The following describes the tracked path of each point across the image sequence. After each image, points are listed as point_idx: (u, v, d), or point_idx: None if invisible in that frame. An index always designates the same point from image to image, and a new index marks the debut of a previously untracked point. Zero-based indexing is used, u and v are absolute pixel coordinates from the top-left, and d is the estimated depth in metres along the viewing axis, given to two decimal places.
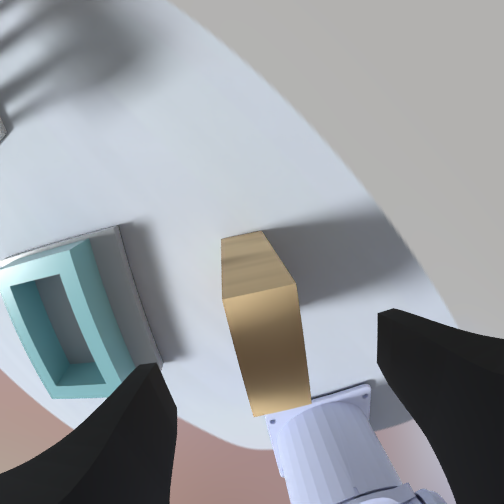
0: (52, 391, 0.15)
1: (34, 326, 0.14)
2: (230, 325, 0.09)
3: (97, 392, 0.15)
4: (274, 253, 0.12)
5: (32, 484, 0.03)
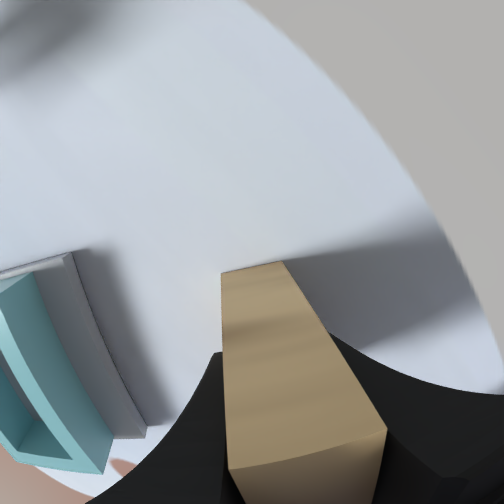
0: (14, 455, 0.09)
1: None
2: (245, 496, 0.04)
3: (65, 466, 0.09)
4: (317, 321, 0.07)
5: (157, 499, 0.03)
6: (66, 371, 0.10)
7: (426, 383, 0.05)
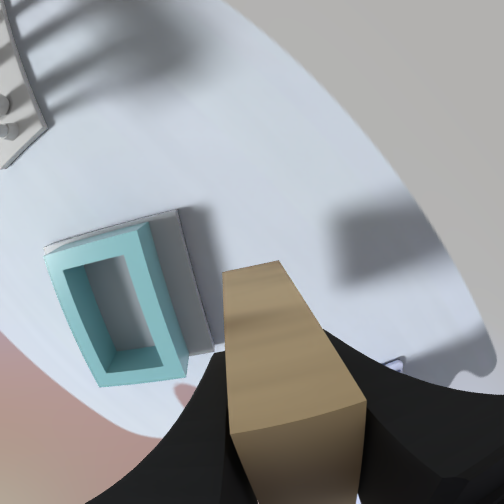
0: (101, 379, 0.16)
1: (85, 312, 0.16)
2: (244, 463, 0.04)
3: (152, 376, 0.16)
4: (309, 312, 0.08)
5: (157, 500, 0.03)
6: (166, 293, 0.17)
7: (426, 383, 0.05)
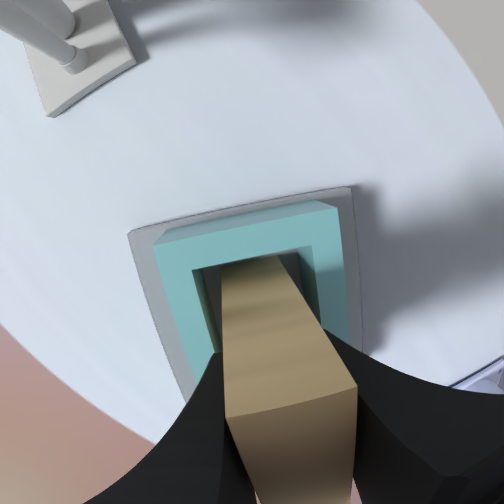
0: None
1: (213, 335, 0.11)
2: (240, 448, 0.05)
3: None
4: (304, 304, 0.08)
5: (155, 499, 0.03)
6: None
7: (427, 383, 0.05)
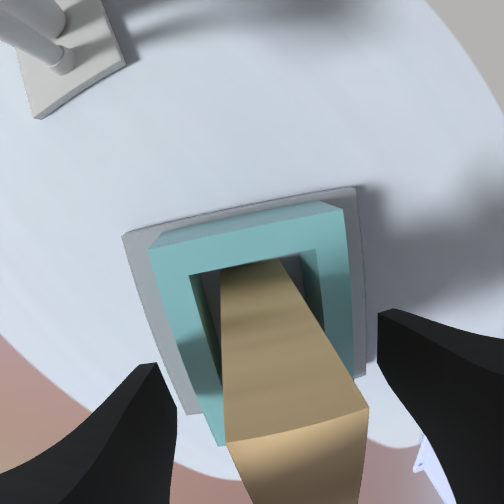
0: (224, 436, 0.11)
1: (211, 342, 0.10)
2: (241, 472, 0.04)
3: None
4: (309, 313, 0.07)
5: (32, 484, 0.03)
6: None
7: None
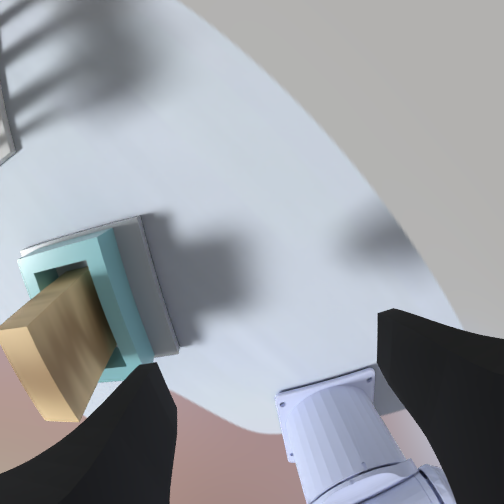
0: None
1: None
2: (3, 349, 0.09)
3: (117, 375, 0.16)
4: (60, 293, 0.12)
5: (32, 484, 0.03)
6: (129, 297, 0.17)
7: None
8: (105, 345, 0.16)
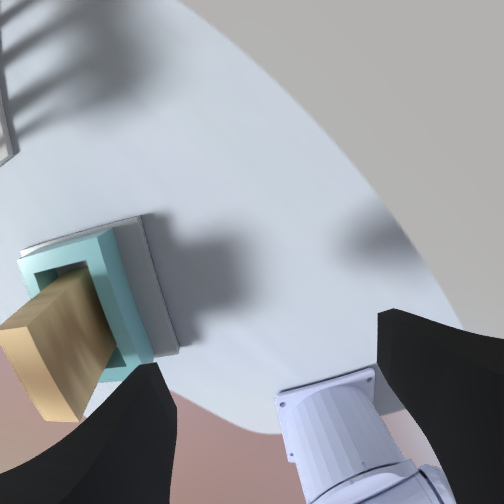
0: None
1: None
2: (3, 349, 0.09)
3: (117, 375, 0.16)
4: (60, 293, 0.12)
5: (32, 484, 0.03)
6: (129, 297, 0.17)
7: None
8: (105, 345, 0.16)
